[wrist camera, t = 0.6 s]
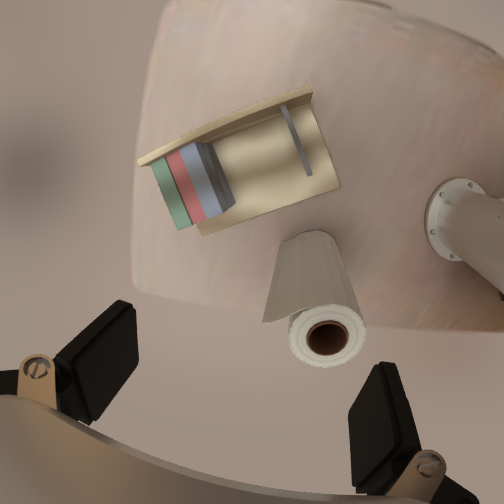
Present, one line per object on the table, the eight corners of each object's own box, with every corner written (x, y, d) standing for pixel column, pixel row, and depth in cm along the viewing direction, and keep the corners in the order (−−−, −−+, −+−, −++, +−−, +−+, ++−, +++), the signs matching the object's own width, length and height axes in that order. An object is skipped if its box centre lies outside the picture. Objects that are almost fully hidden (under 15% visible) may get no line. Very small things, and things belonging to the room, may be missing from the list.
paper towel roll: (345, 253, 40) (380, 343, 20) (312, 278, 42) (318, 380, 22) (314, 214, 39) (328, 277, 19) (280, 241, 41) (261, 324, 21)
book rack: (173, 157, 40) (136, 160, 30) (307, 102, 35) (309, 84, 25) (205, 233, 43) (177, 257, 33) (338, 186, 38) (352, 197, 28)
